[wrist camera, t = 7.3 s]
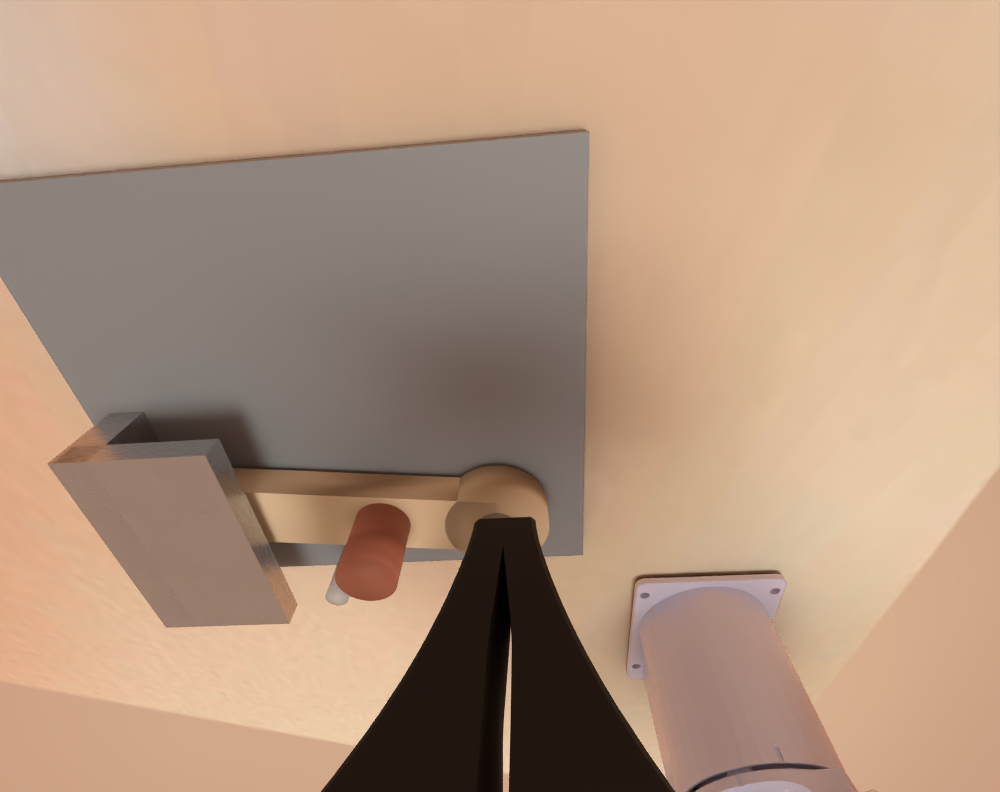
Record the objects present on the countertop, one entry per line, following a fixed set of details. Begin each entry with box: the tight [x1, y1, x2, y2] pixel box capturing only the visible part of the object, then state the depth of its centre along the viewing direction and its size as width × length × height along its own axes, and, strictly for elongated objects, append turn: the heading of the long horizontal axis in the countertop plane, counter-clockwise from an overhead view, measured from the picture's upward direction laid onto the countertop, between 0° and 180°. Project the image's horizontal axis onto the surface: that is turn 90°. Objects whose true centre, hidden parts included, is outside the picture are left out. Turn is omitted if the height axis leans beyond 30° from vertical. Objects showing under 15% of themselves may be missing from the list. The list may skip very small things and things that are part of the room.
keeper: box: [48, 412, 297, 627], centre depth 22 cm, size 10×6×4 cm, turn 5°
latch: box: [233, 465, 549, 601], centre depth 21 cm, size 15×5×4 cm, turn 88°
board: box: [0, 130, 589, 605], centre depth 20 cm, size 19×21×4 cm
